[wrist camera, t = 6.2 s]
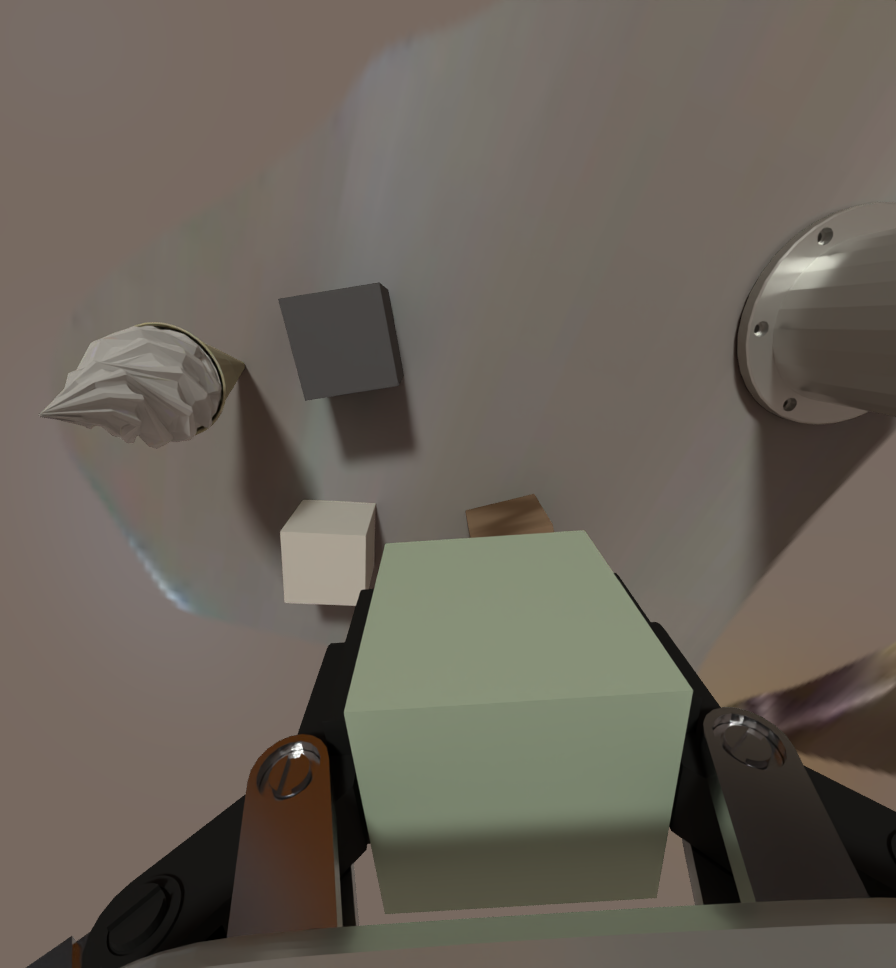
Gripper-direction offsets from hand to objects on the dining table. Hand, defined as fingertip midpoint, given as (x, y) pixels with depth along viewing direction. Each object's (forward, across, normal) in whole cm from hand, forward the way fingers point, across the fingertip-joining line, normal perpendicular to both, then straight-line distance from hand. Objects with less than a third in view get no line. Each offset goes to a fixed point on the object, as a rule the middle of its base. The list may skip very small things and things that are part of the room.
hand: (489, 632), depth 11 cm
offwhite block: (+19, +9, +6) cm, 22 cm away
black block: (+19, +6, -7) cm, 21 cm away
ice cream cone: (+19, +13, -6) cm, 24 cm away
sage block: (+1, 0, 0) cm, 1 cm away
